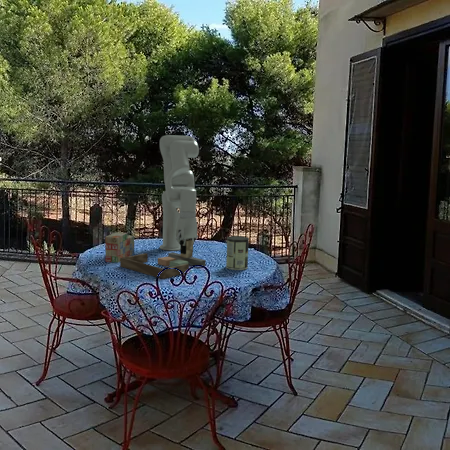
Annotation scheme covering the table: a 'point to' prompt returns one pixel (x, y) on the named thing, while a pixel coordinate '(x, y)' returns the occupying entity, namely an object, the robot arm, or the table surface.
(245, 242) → the coffee can
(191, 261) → the scraper
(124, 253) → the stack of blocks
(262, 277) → the table surface
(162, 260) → the tile terracotta
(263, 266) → the table surface
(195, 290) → the table surface
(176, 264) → the tile sage
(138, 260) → the box
